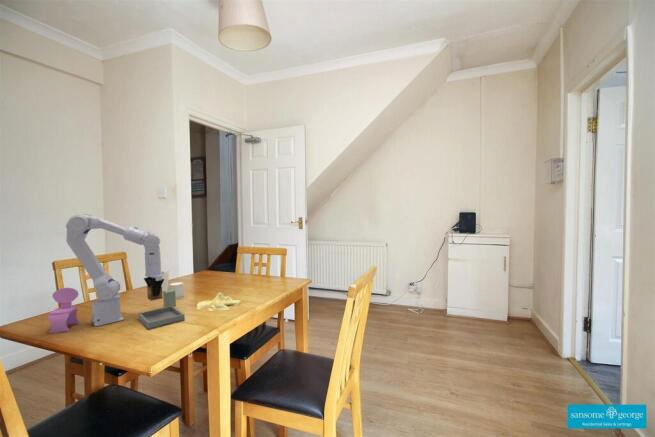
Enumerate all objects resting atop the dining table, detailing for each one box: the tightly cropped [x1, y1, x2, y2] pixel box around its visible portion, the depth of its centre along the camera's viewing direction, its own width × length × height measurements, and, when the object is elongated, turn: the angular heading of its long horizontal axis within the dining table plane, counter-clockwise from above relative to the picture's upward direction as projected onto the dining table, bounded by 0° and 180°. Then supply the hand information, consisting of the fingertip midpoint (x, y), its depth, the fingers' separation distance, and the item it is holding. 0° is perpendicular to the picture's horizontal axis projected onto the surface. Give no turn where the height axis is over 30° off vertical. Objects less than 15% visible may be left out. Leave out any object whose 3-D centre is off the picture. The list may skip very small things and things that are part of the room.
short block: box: [146, 286, 163, 301], centre depth 133 cm, size 4×4×5 cm
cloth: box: [196, 292, 242, 312], centre depth 144 cm, size 22×19×6 cm
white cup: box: [161, 270, 169, 293], centre depth 171 cm, size 8×8×10 cm
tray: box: [137, 306, 185, 330], centre depth 127 cm, size 13×15×2 cm
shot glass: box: [168, 281, 185, 300], centre depth 158 cm, size 7×7×7 cm
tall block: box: [162, 289, 177, 308], centre depth 145 cm, size 4×4×7 cm
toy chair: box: [48, 287, 81, 334], centre depth 120 cm, size 8×9×15 cm
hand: (154, 294), depth 133 cm, fingers closed on short block, 4 cm apart
